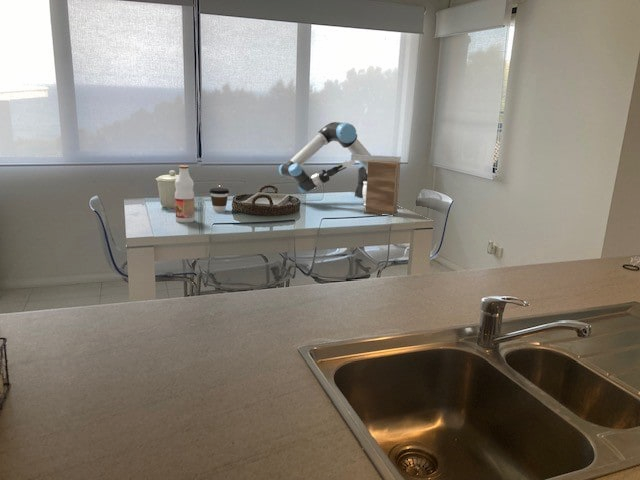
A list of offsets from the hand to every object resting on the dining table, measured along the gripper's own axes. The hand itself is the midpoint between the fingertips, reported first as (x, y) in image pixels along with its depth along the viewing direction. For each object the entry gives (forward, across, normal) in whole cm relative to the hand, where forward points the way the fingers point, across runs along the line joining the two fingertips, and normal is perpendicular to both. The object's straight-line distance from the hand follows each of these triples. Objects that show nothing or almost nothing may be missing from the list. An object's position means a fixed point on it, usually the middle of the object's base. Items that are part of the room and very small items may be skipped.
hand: (351, 161), depth 310 cm
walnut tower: (+3, -1, -34) cm, 35 cm away
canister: (-92, +47, +21) cm, 106 cm away
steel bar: (+13, 0, -6) cm, 15 cm away
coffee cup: (-69, +42, +7) cm, 81 cm away
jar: (-8, -20, -28) cm, 36 cm away
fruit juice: (-70, +74, +8) cm, 102 cm away
